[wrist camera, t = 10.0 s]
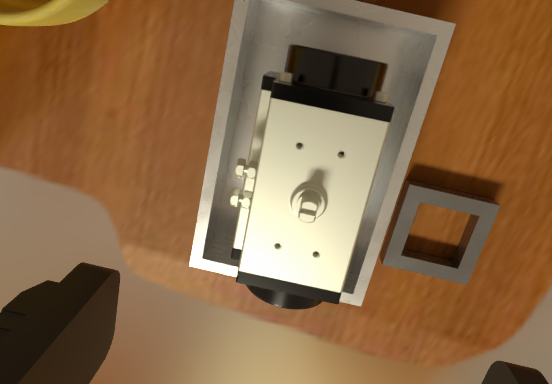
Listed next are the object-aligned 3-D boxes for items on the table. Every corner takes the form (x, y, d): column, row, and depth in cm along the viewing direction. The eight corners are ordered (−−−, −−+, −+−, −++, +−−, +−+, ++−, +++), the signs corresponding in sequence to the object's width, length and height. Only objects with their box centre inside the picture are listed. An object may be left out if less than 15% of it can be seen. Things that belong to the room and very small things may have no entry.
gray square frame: (405, 178, 29) (409, 184, 28) (493, 199, 29) (500, 205, 28) (379, 256, 31) (382, 264, 30) (461, 275, 31) (467, 284, 30)
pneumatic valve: (370, 58, 26) (413, 69, 15) (325, 232, 30) (332, 347, 19) (280, 39, 26) (253, 36, 15) (247, 215, 30) (206, 320, 19)
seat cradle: (252, -15, 26) (239, -27, 21) (431, 27, 26) (455, 23, 21) (206, 234, 32) (189, 265, 27) (354, 268, 31) (360, 306, 27)
